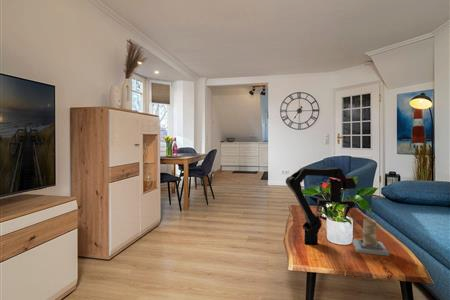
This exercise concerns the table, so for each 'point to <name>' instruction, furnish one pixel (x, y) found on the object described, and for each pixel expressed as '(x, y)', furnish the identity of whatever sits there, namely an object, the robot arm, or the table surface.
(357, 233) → the table surface
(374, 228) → the birch block
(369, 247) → the baseplate
